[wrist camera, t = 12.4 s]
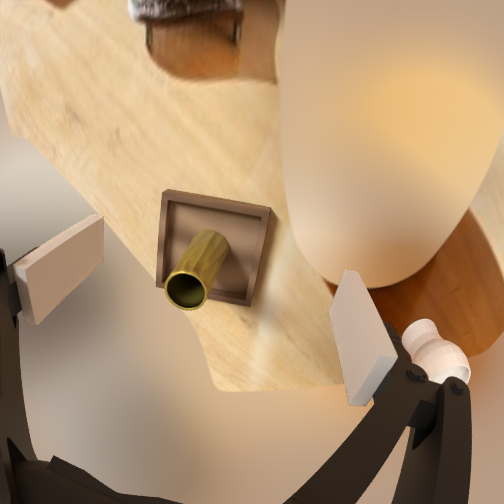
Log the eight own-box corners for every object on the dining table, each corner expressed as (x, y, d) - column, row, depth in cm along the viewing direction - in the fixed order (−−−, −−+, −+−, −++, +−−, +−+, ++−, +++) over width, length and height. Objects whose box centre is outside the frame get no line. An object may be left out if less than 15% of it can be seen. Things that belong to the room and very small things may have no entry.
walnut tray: (167, 189, 45) (162, 192, 43) (270, 207, 45) (270, 211, 43) (160, 280, 51) (155, 286, 49) (251, 299, 51) (250, 306, 49)
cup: (396, 318, 51) (425, 372, 37) (444, 307, 49) (480, 354, 36) (392, 359, 55) (414, 413, 41) (437, 348, 53) (464, 397, 39)
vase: (232, 234, 47) (215, 275, 33) (225, 269, 49) (206, 319, 36) (194, 225, 47) (163, 262, 33) (188, 260, 49) (158, 306, 36)
